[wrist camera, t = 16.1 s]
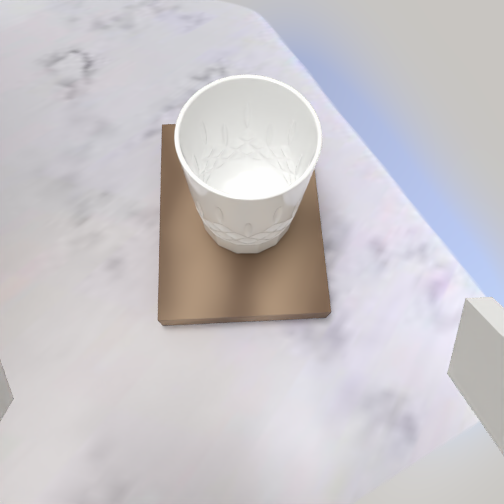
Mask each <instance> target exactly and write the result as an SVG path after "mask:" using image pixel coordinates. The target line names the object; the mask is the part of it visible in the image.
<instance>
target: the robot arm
mask: <svg viewBox="0 0 504 504" xmlns="http://www.w3.org/2000/svg"><path fill="white" fill-rule="evenodd" d="M447 374H448V375H449V377H450V378H451V380H452V381H453V383H454V384H455V386H456V387H457V389H458V390H459V391H460V393H461V394H462V396H463V397H464V399H465V400H466V402H467V403H468V404H469V406H470V407H471V409H472V410H473V412H474V413H475V415H476V416H477V418H478V419H479V420H480V422H481V423H482V425H483V426H484V428H485V429H486V431H487V432H488V433H489V435H490V436H491V438H492V439H493V441H494V442H495V444H496V445H497V446H498V448H499V450H500V451H501V452H502V454H503V455H504V308H503V307H502V306H501V305H500V304H499V303H498V302H497V301H496V300H494V298H492V297H482V298H466V299H465V303H464V307H463V311H462V315H461V320H460V324H459V328H458V332H457V336H456V340H455V344H454V348H453V352H452V356H451V361H450V365H449V369H448V373H447ZM13 399H14V398H13V395H12V392H11V389H10V387H9V384H8V381H7V378H6V375H5V372H4V369H3V366H2V364H1V361H0V421H1V419H2V418H3V416H4V414H5V413H6V411H7V409H8V407H9V406H10V404H11V402H12V401H13Z"/></svg>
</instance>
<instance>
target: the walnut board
mask: <svg viewBox="0 0 504 504" xmlns="http://www.w3.org/2000/svg"><path fill="white" fill-rule="evenodd" d="M175 126H176V124H166V125H162V149H161V195H160V241H159V287H158V321H159V322H160V323H161V324H162V325H163V326H164V325H184V324H205V323H226V322H246V321H267V320H287V319H308V318H326V317H327V316H328V315H329V314H330V313H331V307H330V298H329V290H328V281H327V273H326V264H325V256H324V247H323V239H322V230H321V221H320V213H319V204H318V196H317V187H316V179H315V170H314V171H313V173H312V176H311V179H310V181H309V184H308V186H307V189H306V191H305V194H304V196H303V199H302V201H301V203H300V205H299V207H298V210H297V212H296V214H295V216H294V218H293V220H292V221H291V224H290V227H289V229H288V231H287V232H286V233H285V234H284V236H283V237H282V238H281V239H280V241H279V242H278V243H277V244H276V245H275V246H272V247H270V248H268V249H266V250H264V251H262V252H259V253H240V254H237V253H235V252H232V251H230V250H228V249H226V248H223V247H221V246H219V245H218V244H217V243H216V242H215V241H214V240H213V239H212V237H211V236H210V235H209V234H208V233H207V231H206V230H205V227H204V224H203V221H202V219H201V217H200V215H199V213H198V211H197V209H196V206H195V203H194V201H193V198H192V196H191V193H190V191H189V188H188V185H187V182H186V179H185V175H184V172H183V169H182V167H181V164H180V161H179V158H178V155H177V152H176V148H175V141H174V133H175Z"/></svg>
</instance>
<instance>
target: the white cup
mask: <svg viewBox="0 0 504 504" xmlns="http://www.w3.org/2000/svg"><path fill="white" fill-rule="evenodd" d="M174 141H175V148H176V152H177V155H178V158H179V161H180V164H181V167H182V169H183V172H184V175H185V179H186V182H187V185H188V188H189V191H190V193H191V196H192V198H193V201H194V203H195V206H196V209H197V211H198V213H199V215H200V217H201V219H202V221H203V224H204V227H205V230H206V231H207V233H208V234H209V235H210V236H211V237H212V239H213V240H214V241H215V242H216V243H217V244H218V245H219V246H221V247H223V248H226V249H228V250H230V251H232V252H235V253H237V254H240V253H259V252H262V251H264V250H266V249H268V248H270V247H272V246H275V245H276V244H277V243H278V242H279V241H280V239H281V238H282V237H283V236H284V234H285V233H286V232H287V231H288V229H289V227H290V224H291V221H292V220H293V218H294V216H295V214H296V212H297V210H298V207H299V205H300V203H301V201H302V199H303V196H304V194H305V191H306V189H307V186H308V184H309V181H310V179H311V176H312V173H313V171H314V168H315V166H316V163H317V161H318V158H319V156H320V152H321V148H322V129H321V125H320V121H319V118H318V116H317V114H316V112H315V110H314V109H313V107H312V106H311V104H310V103H309V102H308V101H307V99H306V98H305V97H304V96H303V95H302V94H300V93H299V92H298V91H297V90H295V89H294V88H292V87H291V86H289V85H287V84H285V83H283V82H281V81H278V80H276V79H273V78H269V77H265V76H259V75H236V76H230V77H226V78H222V79H219V80H217V81H214V82H212V83H210V84H208V85H206V86H205V87H203V88H201V89H200V90H199V91H197V92H196V93H195V94H194V95H193V96H192V97H191V98H190V99H189V100H188V101H187V102H186V104H185V105H184V107H183V108H182V110H181V112H180V114H179V116H178V119H177V122H176V126H175V133H174Z"/></svg>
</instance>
